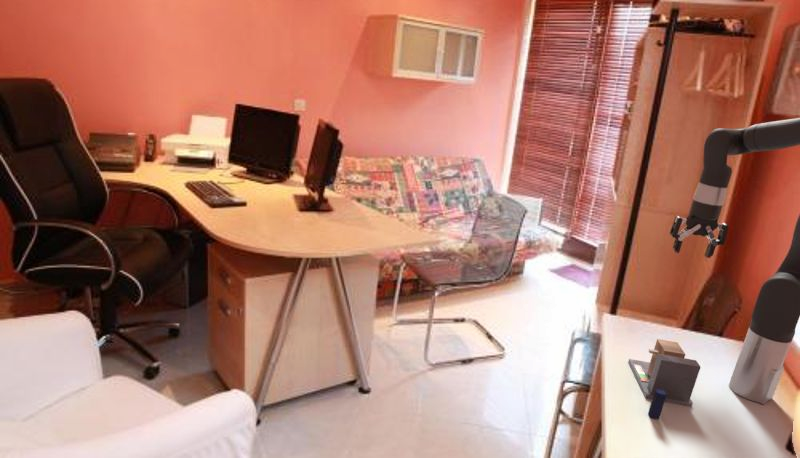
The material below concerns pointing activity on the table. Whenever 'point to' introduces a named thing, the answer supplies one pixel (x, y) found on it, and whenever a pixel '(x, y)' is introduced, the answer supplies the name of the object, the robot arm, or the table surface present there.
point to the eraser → (657, 404)
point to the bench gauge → (667, 377)
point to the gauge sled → (664, 352)
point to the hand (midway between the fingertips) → (691, 254)
